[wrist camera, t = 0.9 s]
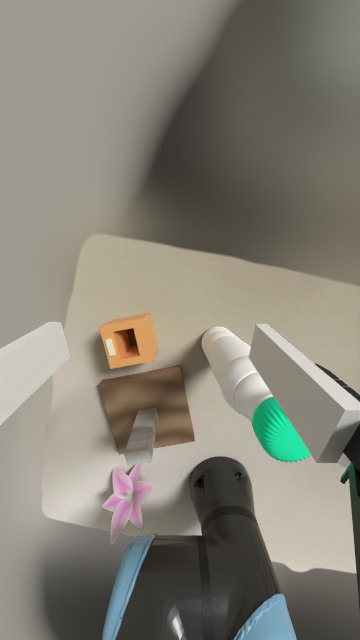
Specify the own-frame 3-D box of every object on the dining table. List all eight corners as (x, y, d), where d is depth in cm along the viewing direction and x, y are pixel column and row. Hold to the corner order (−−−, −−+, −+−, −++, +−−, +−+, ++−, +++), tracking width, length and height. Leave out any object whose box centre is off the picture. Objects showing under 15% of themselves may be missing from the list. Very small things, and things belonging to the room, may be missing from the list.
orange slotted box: (158, 348, 37) (153, 361, 30) (122, 354, 37) (109, 369, 30) (150, 312, 36) (143, 318, 29) (113, 319, 36) (97, 326, 29)
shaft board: (193, 433, 41) (200, 492, 29) (121, 446, 41) (99, 509, 29) (180, 365, 38) (181, 399, 26) (102, 379, 38) (68, 419, 26)
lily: (165, 462, 43) (149, 486, 34) (157, 518, 41) (137, 561, 32) (125, 448, 47) (101, 467, 38) (115, 499, 44) (87, 532, 35)
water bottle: (198, 329, 36) (241, 408, 12) (230, 322, 36) (341, 389, 12) (204, 359, 38) (254, 488, 13) (235, 353, 38) (345, 471, 13)
